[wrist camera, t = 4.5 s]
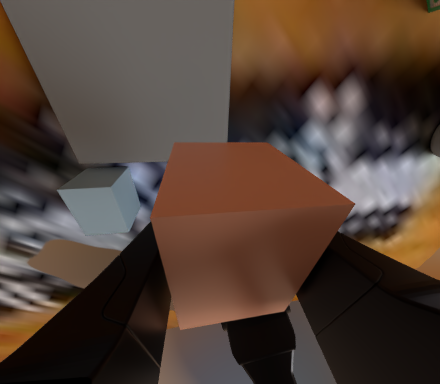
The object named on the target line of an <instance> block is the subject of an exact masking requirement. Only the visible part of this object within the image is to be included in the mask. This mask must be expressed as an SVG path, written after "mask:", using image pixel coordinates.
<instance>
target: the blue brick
mask: <svg viewBox="0 0 440 384" xmlns="http://www.w3.org/2000/svg"><path fill="white" fill-rule="evenodd" d="M57 191H58V193H59V194H60V196H61V197H62V199H63V201H64V202H65V204H66V205H67V207H68V209H69V210H70V212H71V213H72V215H73V216H74V218H75V220H76V221H77V223H78V224H79V226H80V228H81V229H82V231H83V232H84V234H85V236H90V235H101V234H113V233H124V232H129V231H130V229H131V227H132V224H133V222H134V220H135V218H136V216H137V214H138V211H139V209H140V207H141V205H140V202H139V199H138V195H137V192H136V189H135V186H134V183H133V179H132V176H131V173H130V170H129V167H105V168H87V169H85V170H84V171H83V172H81V173H80V174H78V175H77V176H76V177H74V178H73V179H71V180H70V181H69V182H67V183H66V184H64V185H63V186H61V187H60V188H59V189H57Z"/></svg>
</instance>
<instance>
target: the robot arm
mask: <svg viewBox="0 0 440 384" xmlns="http://www.w3.org/2000/svg"><path fill="white" fill-rule="evenodd" d="M296 295H297V297H298V300H299V302H300V304H301V306H302V308H303V310H304V313H305V315H306V317H307V319H308V321H309V324H310V326H311V328H312V330H313V332H314V334H315V335H316V339H317V341H318V344H319V346H320V348H321V350H322V352H323V355H324V357H325V359H326V361H327V363H328V365H329V367H330V370H331V372H332V374H333V376H334V378H335V380H336V383H337V384H440V280H437V279H435V278H432V277H430V276H428V275H426V274H424V273H421V272H419V271H417V270H415V269H413V268H411V267H409V266H407V265H405V264H402V263H400V262H398V261H396V260H394V259H392V258H390V257H388V256H386V255H384V254H381V253H379V252H377V251H375V250H373V249H371V248H369V247H367V246H365V245H363V244H361V243H359V242H357V241H355V240H353V239H352V238H350V237H348V236H346V235H344V234H342V233H340V232H338V231H337V233H336V234H335V236H334V237H333V239H332V240H331V242H330V243H329V245H328V246H327V248H326V249H325V251H324V252H323V254H322V255H321V257H320V258H319V260H318V261H317V263H316V264H315V266H314V267H313V269H312V270H311V272H310V273H309V275H308V276H307V278H306V279H305V281H304V282H303V284H302V285H301V287H300V288H299V290H298V291H297V293H296ZM170 302H171V293H170V290H169V286H168V282H167V278H166V275H165V271H164V267H163V264H162V260H161V256H160V252H159V249H158V245H157V241H156V238H155V234H154V230H153V226H152V223H151V222H150V223H149V224H148V225H147V226H146V227H145V228H144V229H143V230H142V231H141V232H140V233H139V234H138V235H137V236H136V237H135V238H134V240H133V241H132V242H131V243H130V244H129V245H128V246H127V247H126V248H125V249H124V250H123V251H122V252H121V253H120V256H117V257H116V258H115V259H114V260H113V261H112V262H111V264H110V265H108V267H107V268H105V269H104V271H102V273H100V275H99V276H98V277H97V278H95V279H94V280H93V281H92V282H91V283H90V284H89V285H88V286H87V287H86V288H85V289H84V290H83V291H81V292H80V293H79V294H78V295H77V296H76V297H75V298H74V299H73V300H72V301H70V302H69V303H68V304H67V305H66V306H65V307H64V308H63V309H62V310H60V311H59V312H58V313H57V314H56V315H55V316H54V317H53V318H52V319H50V320H49V321H48V322H47V323H46V324H45V325H44V326H43V327H42V328H41V329H39V330H38V331H37V332H36V333H35V334H34V335H33V336H32V337H31V338H29V339H28V340H27V341H26V342H25V343H24V344H23V345H21V346H20V347H19V348H18V349H17V350H16V351H14V352H13V353H12V354H11V355H9V356H8V357H7V358H6V359H4V360H3V361H2V362H0V384H158V380H159V373H160V367H161V360H162V354H163V348H164V341H165V335H166V328H167V322H168V315H169V309H170ZM287 313H290V306H289V305H288V307H287V308H286V310H285V311H283V312H277V313H272V314H266V315H261V316H255V317H249V318H244V319H238V320H233V321H227V322H221V324H222V328H223V330H224V331H227V332H228V337H229V342H230V347H231V350H232V354H233V356H234V358H235V359H236V361H237V363H238V364H239V365H242V367H243V368H244V370H245V371H246V373H247V374H248V375H249V377H250V378H251V380H252V381H253V383H254V384H297V383H296V380H295V378H294V375H293V355H294V350H295V348H296V345H295V344H296V343H295V334H294V330H293V327H292V324H291V322H290V319H289V316H288V314H287Z"/></svg>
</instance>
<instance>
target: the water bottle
mask: <svg viewBox="0 0 440 384" xmlns="http://www.w3.org/2000/svg"><path fill="white" fill-rule="evenodd" d="M431 150H432V152H433V153H434V154H435V155H436V156H438V157H440V124H439V126H438V127H437V129H436V131H435V132H434V134H433V137H432V140H431Z"/></svg>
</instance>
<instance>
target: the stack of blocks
mask: <svg viewBox="0 0 440 384" xmlns="http://www.w3.org/2000/svg"><path fill="white" fill-rule="evenodd" d="M426 1H427V6H428V12H429V13H430V12H433V11H436V10H440V0H426Z"/></svg>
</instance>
